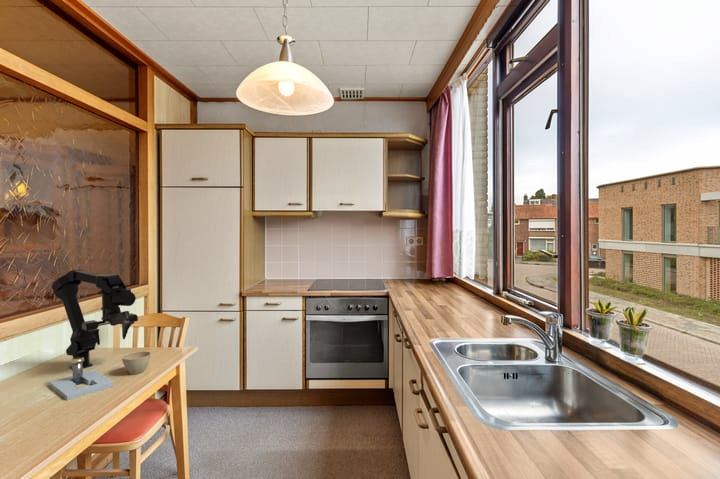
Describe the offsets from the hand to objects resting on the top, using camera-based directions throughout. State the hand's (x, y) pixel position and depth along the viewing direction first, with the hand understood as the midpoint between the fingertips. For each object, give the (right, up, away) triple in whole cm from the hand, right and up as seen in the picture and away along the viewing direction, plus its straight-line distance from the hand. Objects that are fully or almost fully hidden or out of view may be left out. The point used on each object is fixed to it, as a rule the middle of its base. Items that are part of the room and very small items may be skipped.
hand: (111, 341), depth 150 cm
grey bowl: (+12, -12, -2) cm, 17 cm away
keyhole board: (-1, -12, -15) cm, 19 cm away
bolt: (-4, -12, -13) cm, 18 cm away
